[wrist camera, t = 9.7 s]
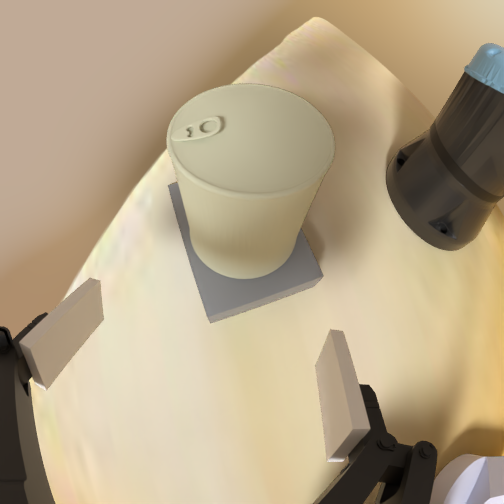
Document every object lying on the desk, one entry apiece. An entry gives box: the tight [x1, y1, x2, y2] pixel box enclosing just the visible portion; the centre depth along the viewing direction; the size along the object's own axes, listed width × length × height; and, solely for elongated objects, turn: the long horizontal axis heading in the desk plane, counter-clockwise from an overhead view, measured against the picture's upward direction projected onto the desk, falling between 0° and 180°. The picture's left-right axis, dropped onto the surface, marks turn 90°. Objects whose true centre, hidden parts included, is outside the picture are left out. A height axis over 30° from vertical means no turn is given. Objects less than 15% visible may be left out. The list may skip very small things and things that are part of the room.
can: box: [167, 84, 335, 279], centre depth 19 cm, size 9×9×12 cm
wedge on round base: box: [430, 454, 504, 504], centre depth 14 cm, size 9×7×13 cm
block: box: [168, 182, 323, 323], centre depth 26 cm, size 10×13×3 cm
